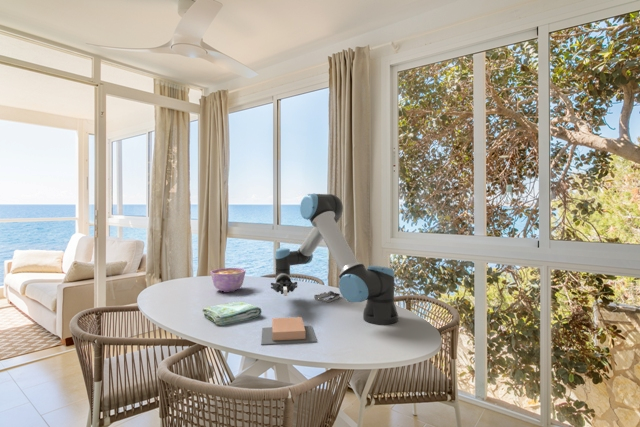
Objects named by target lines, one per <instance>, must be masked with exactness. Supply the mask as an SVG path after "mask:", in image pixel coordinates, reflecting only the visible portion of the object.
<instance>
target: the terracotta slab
mask: <svg viewBox="0 0 640 427" xmlns="http://www.w3.org/2000/svg"><path fill="white" fill-rule="evenodd" d="M271 319H272V320H271V322H272V324H271V325H272V336H273V340H274V341H279V340H299V339H305V327H304V326H305V325H304V320H303V317H302V316H299V317H275V318H271Z"/></svg>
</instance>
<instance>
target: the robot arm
mask: <svg viewBox="0 0 640 427" xmlns="http://www.w3.org/2000/svg"><path fill="white" fill-rule="evenodd" d="M343 211H344V206H343V202H342V199H341V198H339V196H337V195H335V194H331V193H330V194H329V193H328V194H327V193H308V194H305V195H304V197H302V199H301V202H300V206H299V212H300V215H301V217H302V218H303V219H305V220H309V222H310V223H311V225H312V226H313V227H312V229H311V230H310V231H309V233H308V235H307V236H306V237H305V239H304V241H303V242H302V243H301V244H300V246H299V248H298V249H297V250H290V249H289V248H288V247H287V248H285V247H282V248H277V249H276V250H275V256H274V259H275V279H274V280H275V282H270V289H271V290H274V291H275V292H276V293H280V294H281V295H283V296H284V297H287V296H288V293H289V294H290V292H291V293H292V292H294V291H295V289H297V288H298V282H297V281H295V282H294V281H292V279H291V266H299V265H306V264H309V263H311V262H312V261H313V258H314V255H313V253H314V252H315V251H316V249H317V248H318V246H319V245H320V243H321V242H322V241H324V243H325V246H326V247H327V248H328V250H329V253H330V254H331V256H332V258H333V260H334V262H335V264H336V266H337V268H338V270H339V276H338V277H339V280H338V285H339V286H338V289H339V294H340V295H341V296H342V297H343V298H344V299H345V300H346V301H347V302H350V303H363V302H365V301H366V304H365V307H364V311H363V314H362V316H363V317H362V318H363V320H364V321H365V322H367V323H370V324H376V325H392V324H395V323H397V322H398V321H399V314H398V311H397V307H396V304H395V270H394V269H393V268H391V267H388V266H379V265H368V266H367V268H366V267H365V265H364V263H363V262H360V261H359V262H358V259H357V258H356V256H355V254H354V252H353V249H351V247H350V245H349V244H348V241H347V239H346V238H345V236H344V234H343V232H342V230H341V229H340V227H339V225H338V222H339V220H340V219H341V217H342V215H343Z"/></svg>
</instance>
